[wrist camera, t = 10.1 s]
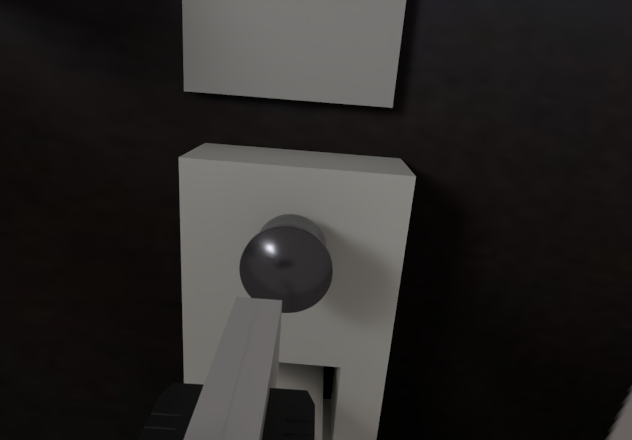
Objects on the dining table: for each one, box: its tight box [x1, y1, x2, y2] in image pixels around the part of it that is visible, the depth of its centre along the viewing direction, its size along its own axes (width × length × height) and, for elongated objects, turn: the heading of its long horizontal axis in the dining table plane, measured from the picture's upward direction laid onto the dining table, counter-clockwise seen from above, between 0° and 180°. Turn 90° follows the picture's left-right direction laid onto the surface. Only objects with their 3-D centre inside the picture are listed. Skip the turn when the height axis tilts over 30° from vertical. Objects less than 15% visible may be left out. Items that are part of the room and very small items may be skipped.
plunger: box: [239, 214, 333, 313], centre depth 21 cm, size 4×4×3 cm
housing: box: [179, 143, 416, 440], centre depth 29 cm, size 12×30×5 cm, turn 176°
